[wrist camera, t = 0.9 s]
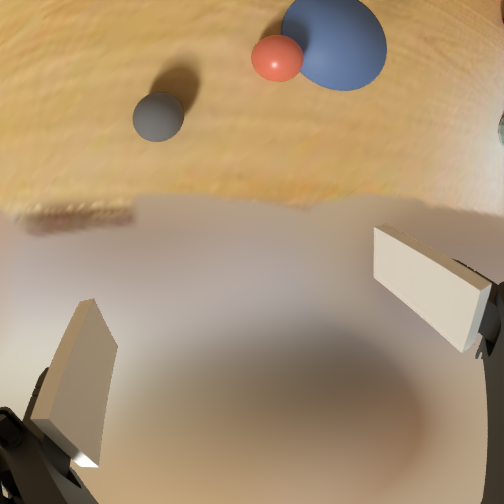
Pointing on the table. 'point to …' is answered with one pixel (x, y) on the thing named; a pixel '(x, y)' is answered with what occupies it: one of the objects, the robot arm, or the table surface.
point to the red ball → (277, 58)
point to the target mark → (337, 42)
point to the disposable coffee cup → (501, 131)
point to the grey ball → (158, 116)
